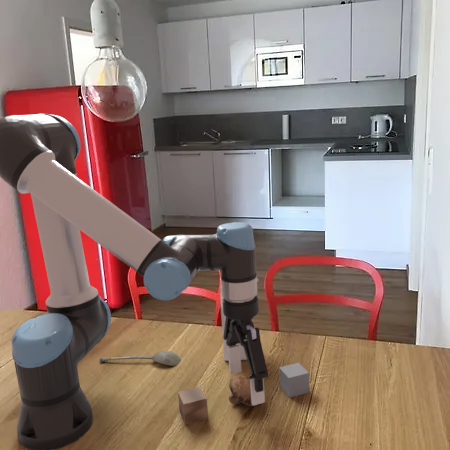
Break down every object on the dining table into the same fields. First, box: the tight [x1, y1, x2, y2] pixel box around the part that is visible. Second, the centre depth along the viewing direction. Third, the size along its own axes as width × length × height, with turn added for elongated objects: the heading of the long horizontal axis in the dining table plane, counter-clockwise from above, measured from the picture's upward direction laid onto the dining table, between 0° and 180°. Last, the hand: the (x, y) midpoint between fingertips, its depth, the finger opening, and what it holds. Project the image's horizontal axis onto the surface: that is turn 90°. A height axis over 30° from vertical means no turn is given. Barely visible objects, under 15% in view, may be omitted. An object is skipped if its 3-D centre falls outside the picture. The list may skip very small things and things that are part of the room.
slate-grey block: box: [278, 362, 310, 398], centre depth 111 cm, size 5×5×5 cm
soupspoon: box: [98, 350, 182, 367], centre depth 129 cm, size 22×3×7 cm
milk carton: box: [219, 286, 247, 362], centre depth 127 cm, size 7×7×19 cm
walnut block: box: [177, 386, 209, 426], centre depth 104 cm, size 5×5×5 cm
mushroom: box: [228, 374, 257, 407], centre depth 108 cm, size 8×8×6 cm
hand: (246, 386), depth 107 cm, fingers open, 13 cm apart
